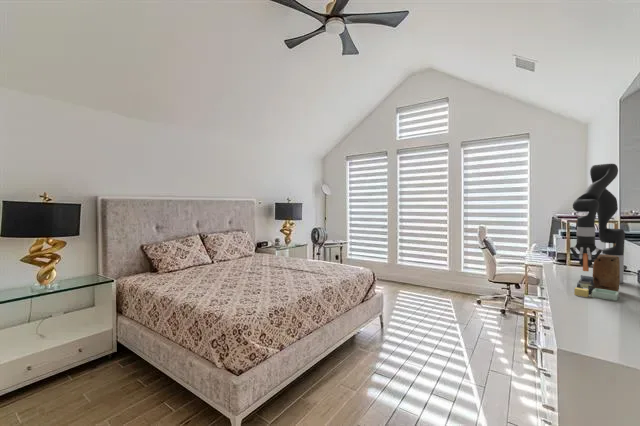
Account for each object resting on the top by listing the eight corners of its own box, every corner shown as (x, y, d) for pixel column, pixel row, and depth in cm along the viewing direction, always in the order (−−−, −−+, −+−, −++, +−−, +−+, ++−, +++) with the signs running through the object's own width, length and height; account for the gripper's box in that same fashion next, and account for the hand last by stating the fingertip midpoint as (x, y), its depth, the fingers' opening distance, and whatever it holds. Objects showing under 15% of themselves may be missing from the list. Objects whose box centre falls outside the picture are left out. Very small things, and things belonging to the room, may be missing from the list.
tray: (595, 293, 153) (595, 287, 153) (619, 297, 146) (619, 291, 146) (591, 296, 148) (591, 291, 148) (616, 301, 140) (616, 295, 140)
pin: (583, 270, 158) (583, 252, 158) (589, 270, 156) (589, 253, 156) (582, 270, 157) (582, 253, 156) (588, 271, 155) (588, 253, 154)
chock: (576, 293, 154) (576, 287, 153) (588, 296, 150) (588, 289, 149) (574, 295, 151) (574, 288, 151) (587, 297, 147) (587, 290, 147)
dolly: (580, 288, 162) (580, 274, 162) (594, 290, 158) (594, 276, 157) (576, 291, 157) (576, 277, 156) (591, 294, 152) (591, 279, 152)
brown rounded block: (620, 291, 156) (620, 255, 156) (618, 294, 152) (619, 257, 151) (593, 287, 165) (593, 253, 164) (591, 289, 160) (591, 254, 160)
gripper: (604, 235, 153) (604, 266, 153) (570, 233, 164) (570, 263, 164) (602, 236, 148) (601, 269, 148) (567, 234, 159) (567, 265, 159)
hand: (585, 265), depth 156 cm, fingers closed on pin, 2 cm apart
